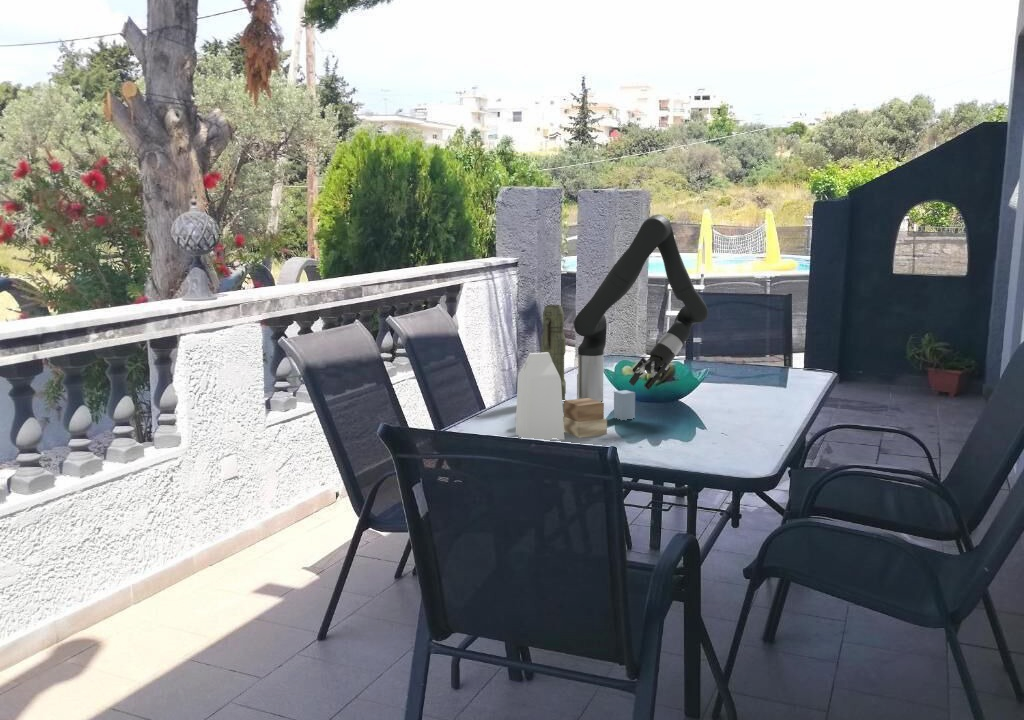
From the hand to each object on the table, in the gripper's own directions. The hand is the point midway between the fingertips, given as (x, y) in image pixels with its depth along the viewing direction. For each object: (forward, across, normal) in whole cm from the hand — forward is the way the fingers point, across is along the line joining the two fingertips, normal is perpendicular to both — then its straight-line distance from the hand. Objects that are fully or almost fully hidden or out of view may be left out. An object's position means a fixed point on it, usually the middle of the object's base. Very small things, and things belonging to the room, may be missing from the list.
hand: (638, 386), depth 302 cm
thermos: (+15, -38, 0) cm, 41 cm away
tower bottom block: (+27, +10, -12) cm, 31 cm away
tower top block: (+24, +10, -16) cm, 30 cm away
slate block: (+11, 0, +4) cm, 12 cm away
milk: (+38, +8, -23) cm, 45 cm away
